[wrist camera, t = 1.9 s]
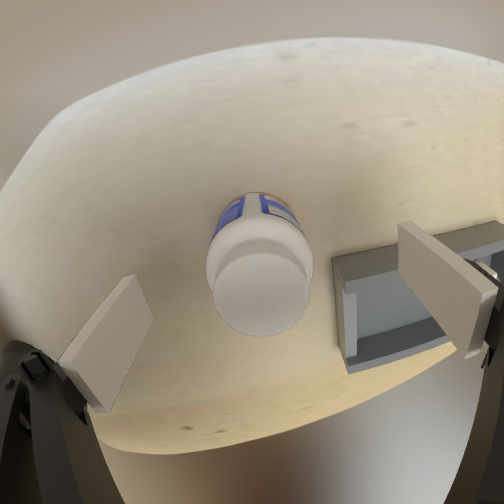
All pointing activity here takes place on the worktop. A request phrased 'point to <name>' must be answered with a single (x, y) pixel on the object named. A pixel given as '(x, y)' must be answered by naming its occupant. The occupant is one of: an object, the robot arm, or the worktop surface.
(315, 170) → the worktop surface
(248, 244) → the pill bottle
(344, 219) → the worktop surface
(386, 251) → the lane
